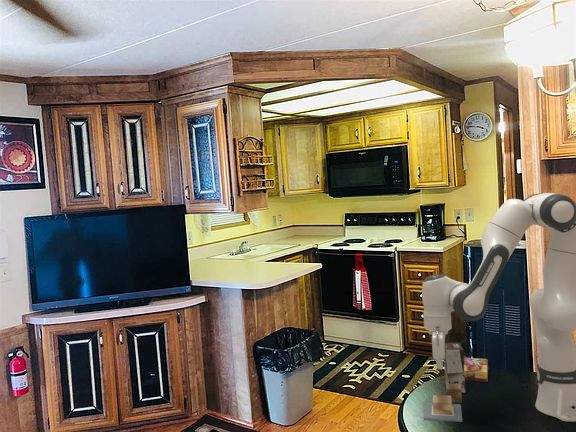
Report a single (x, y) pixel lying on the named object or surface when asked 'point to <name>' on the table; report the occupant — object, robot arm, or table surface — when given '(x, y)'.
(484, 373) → the candy box
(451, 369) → the coffee box
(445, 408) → the oak block
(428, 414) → the plate
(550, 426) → the table surface
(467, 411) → the table surface
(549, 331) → the robot arm
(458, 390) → the walnut cube
